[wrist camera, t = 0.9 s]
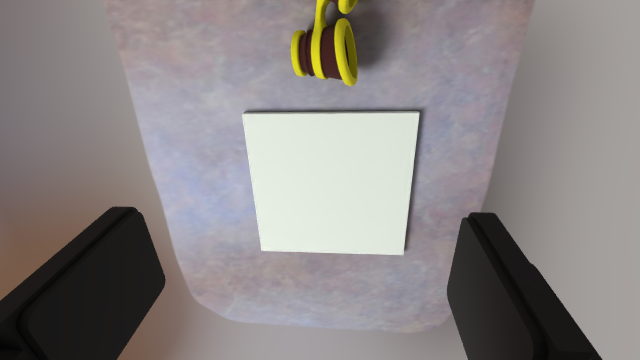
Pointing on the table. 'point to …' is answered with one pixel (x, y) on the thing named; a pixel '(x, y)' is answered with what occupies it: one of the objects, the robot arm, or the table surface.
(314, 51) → the opera glasses
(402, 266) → the table surface
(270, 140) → the mat
